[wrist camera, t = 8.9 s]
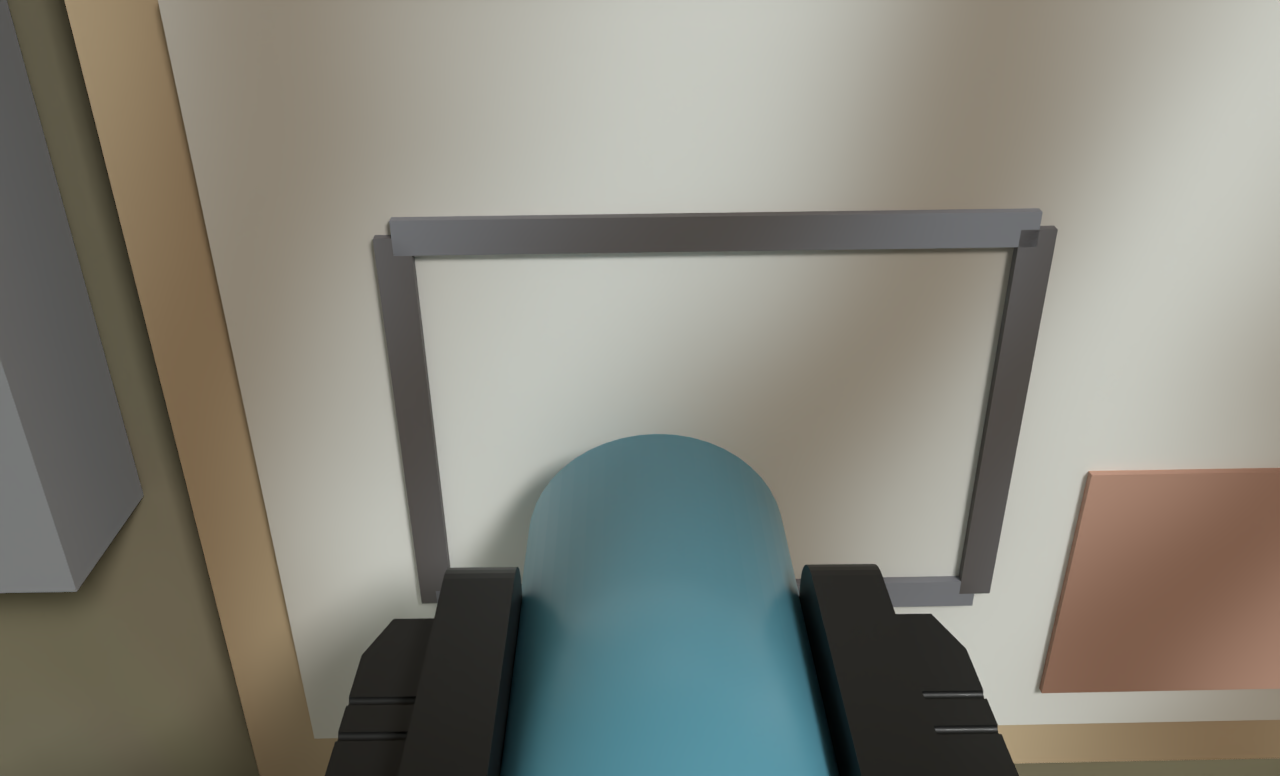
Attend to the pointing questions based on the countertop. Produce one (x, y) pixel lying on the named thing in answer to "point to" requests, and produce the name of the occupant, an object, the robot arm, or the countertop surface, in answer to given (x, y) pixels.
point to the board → (728, 316)
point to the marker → (662, 624)
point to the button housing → (49, 371)
